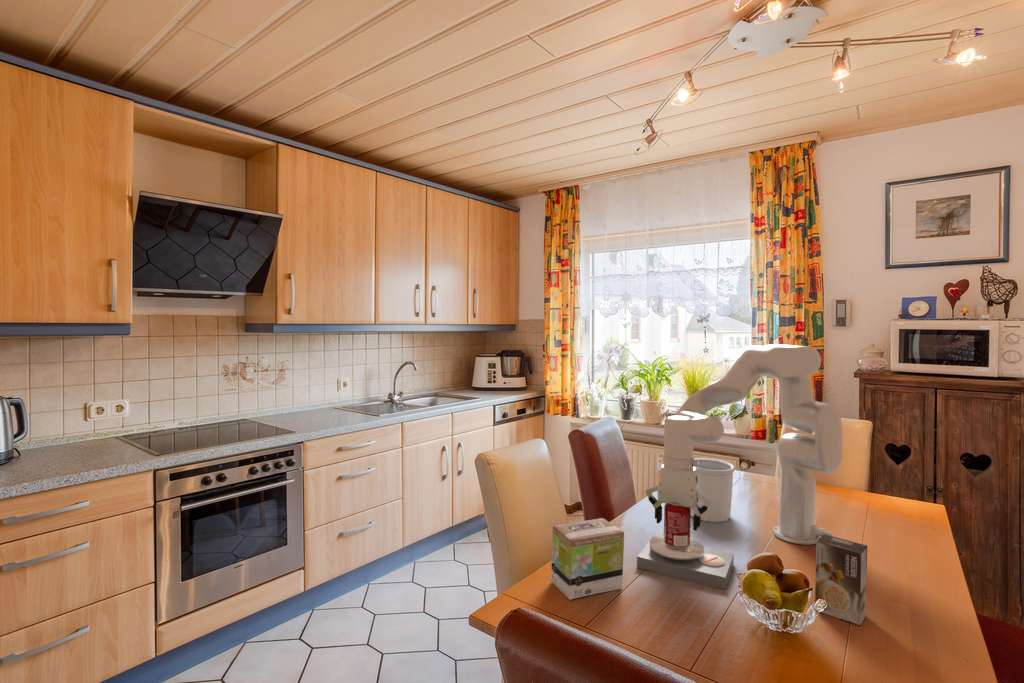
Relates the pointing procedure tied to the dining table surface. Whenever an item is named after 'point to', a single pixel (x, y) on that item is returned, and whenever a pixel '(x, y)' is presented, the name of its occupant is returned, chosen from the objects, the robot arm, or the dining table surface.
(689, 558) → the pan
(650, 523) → the dining table surface
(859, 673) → the dining table surface
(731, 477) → the utensil holder
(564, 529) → the tea box
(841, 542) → the coffee box
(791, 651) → the dining table surface
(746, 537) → the dining table surface
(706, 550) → the scale
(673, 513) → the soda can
